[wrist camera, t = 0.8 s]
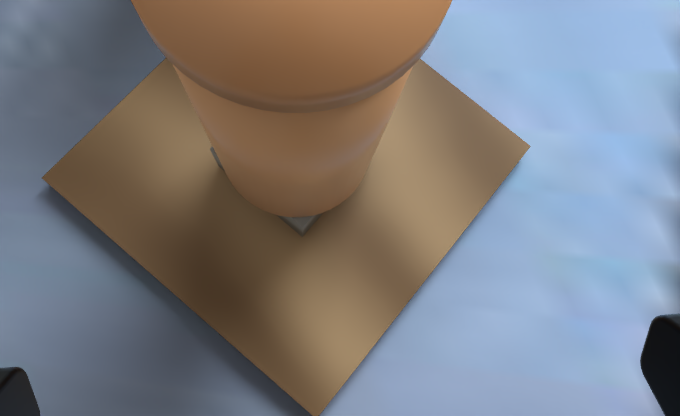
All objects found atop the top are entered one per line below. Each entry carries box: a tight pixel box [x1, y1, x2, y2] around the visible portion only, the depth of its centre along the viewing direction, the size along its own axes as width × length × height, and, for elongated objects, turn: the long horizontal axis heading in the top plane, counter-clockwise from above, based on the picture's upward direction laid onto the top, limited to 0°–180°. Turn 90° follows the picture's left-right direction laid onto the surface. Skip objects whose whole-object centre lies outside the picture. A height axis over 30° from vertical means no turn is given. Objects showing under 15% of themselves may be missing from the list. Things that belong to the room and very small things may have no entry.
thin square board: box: [42, 58, 531, 416], centre depth 21 cm, size 14×14×3 cm
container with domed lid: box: [131, 0, 452, 217], centre depth 14 cm, size 6×6×11 cm
